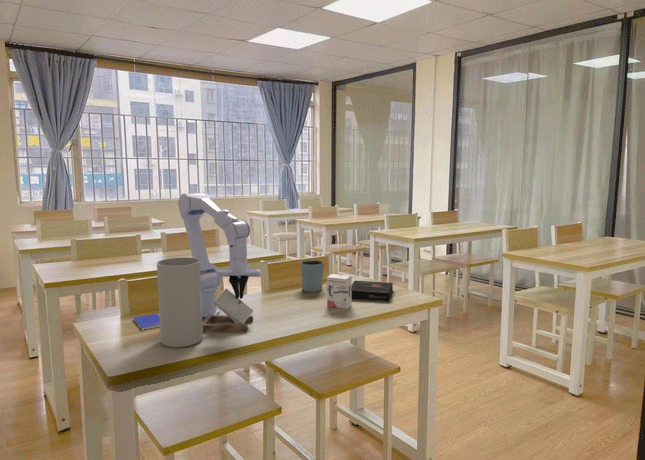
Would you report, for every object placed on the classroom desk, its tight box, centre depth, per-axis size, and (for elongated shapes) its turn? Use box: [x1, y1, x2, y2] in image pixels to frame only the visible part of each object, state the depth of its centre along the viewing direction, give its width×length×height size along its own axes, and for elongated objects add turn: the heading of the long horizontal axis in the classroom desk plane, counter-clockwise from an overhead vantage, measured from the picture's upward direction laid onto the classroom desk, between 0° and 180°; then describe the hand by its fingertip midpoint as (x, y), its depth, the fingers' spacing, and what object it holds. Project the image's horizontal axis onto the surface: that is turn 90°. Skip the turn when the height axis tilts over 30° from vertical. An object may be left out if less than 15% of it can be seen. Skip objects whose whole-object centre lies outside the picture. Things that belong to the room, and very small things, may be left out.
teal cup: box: [300, 259, 325, 293], centre depth 207 cm, size 10×10×12 cm
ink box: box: [326, 273, 352, 310], centre depth 182 cm, size 9×5×12 cm, turn 68°
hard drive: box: [133, 313, 160, 331], centre depth 165 cm, size 2×8×12 cm
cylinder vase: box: [156, 256, 204, 349], centre depth 146 cm, size 12×12×25 cm
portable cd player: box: [351, 280, 394, 303], centre depth 199 cm, size 16×17×4 cm
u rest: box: [202, 314, 254, 333], centre depth 161 cm, size 15×11×2 cm
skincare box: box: [214, 288, 254, 325], centre depth 160 cm, size 6×4×12 cm
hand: (239, 297), depth 160 cm, fingers closed
